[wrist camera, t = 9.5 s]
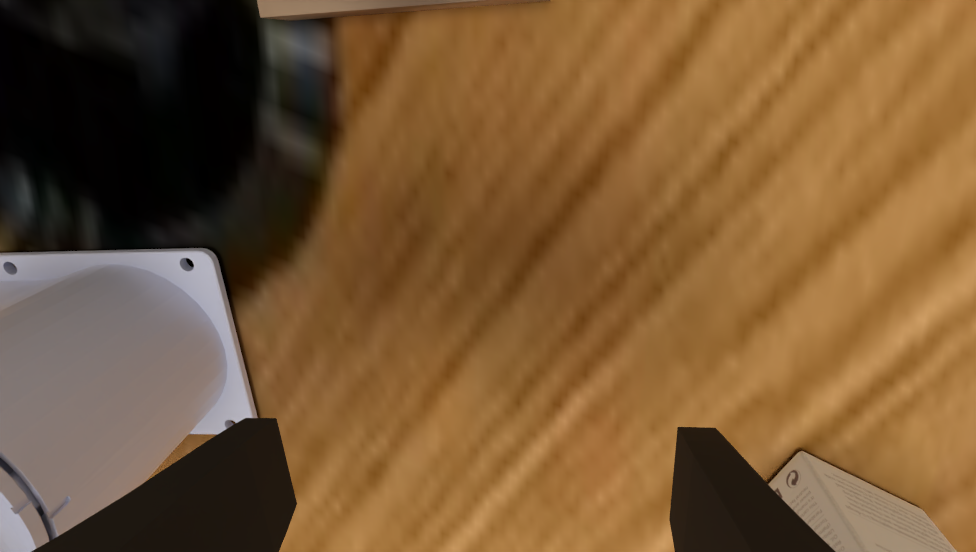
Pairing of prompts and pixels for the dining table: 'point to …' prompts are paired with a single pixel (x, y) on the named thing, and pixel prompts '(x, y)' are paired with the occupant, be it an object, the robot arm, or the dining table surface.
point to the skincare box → (854, 510)
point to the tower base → (361, 7)
